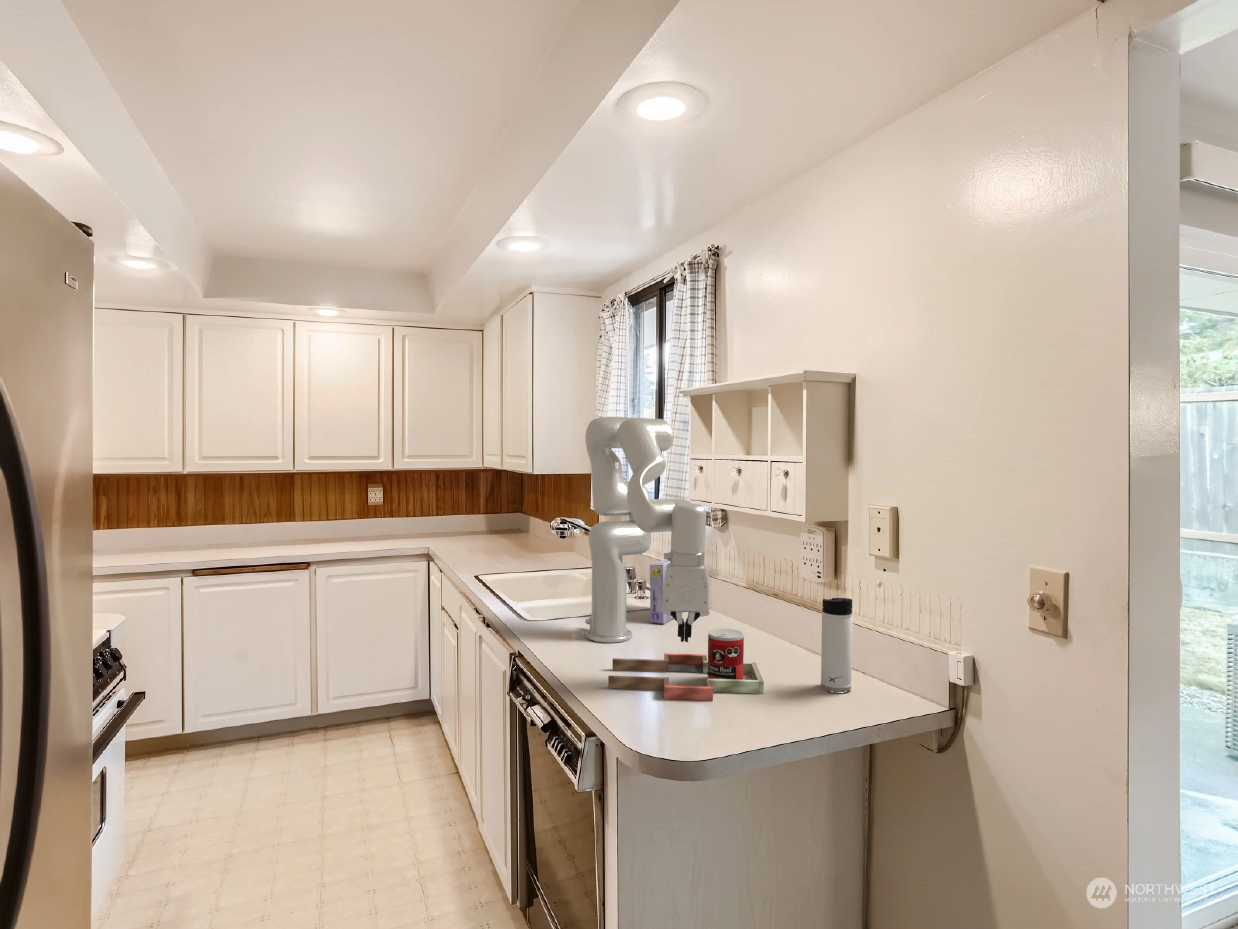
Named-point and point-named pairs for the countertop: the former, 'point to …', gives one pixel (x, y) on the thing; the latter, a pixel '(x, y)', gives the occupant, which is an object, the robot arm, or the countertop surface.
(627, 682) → the box
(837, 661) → the travel mug
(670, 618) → the cake pan box
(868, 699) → the countertop surface
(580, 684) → the countertop surface
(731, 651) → the canned food
